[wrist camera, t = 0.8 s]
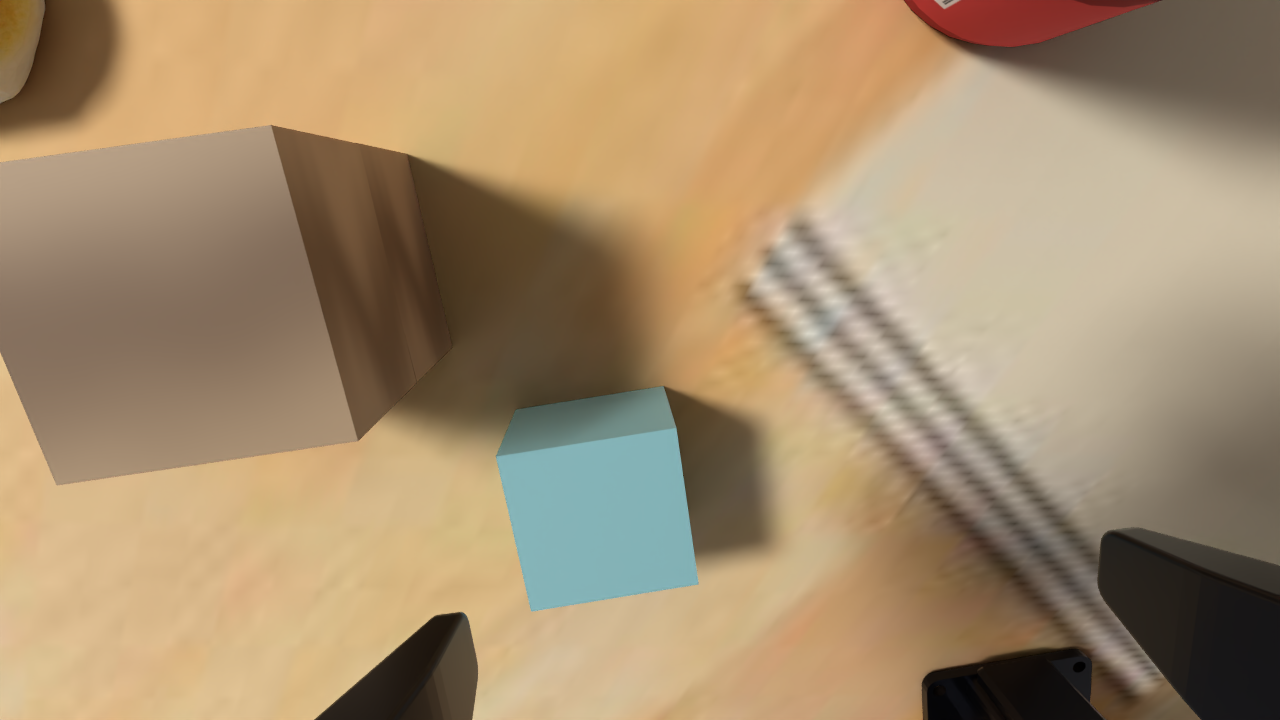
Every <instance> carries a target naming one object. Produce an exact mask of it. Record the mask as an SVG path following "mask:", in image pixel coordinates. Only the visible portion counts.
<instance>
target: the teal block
mask: <svg viewBox="0 0 1280 720" xmlns="http://www.w3.org/2000/svg"><path fill="white" fill-rule="evenodd" d="M496 459H497V464H498V468H499V472H500V477H501V481H502V485H503V490H504V494H505V499H506V503H507V507H508V512H509V516H510V521H511V525H512V529H513V534H514V538H515V542H516V547H517V551H518V556H519V560H520V564H521V569H522V573H523V578H524V582H525V586H526V591H527V595H528V599H529V604H530V608H531V611H538V610H544V609H550V608H556V607H562V606H568V605H574V604H581V603H587V602H593V601H599V600H605V599H611V598H617V597H623V596H630V595H636V594H642V593H648V592H654V591H660V590H666V589H673V588H679V587H685V586H691V585H697V584H698V577H697V570H696V562H695V555H694V548H693V541H692V534H691V527H690V520H689V513H688V506H687V499H686V492H685V485H684V478H683V471H682V464H681V457H680V450H679V443H678V436H677V429H676V425H675V422H674V418H673V415H672V412H671V409H670V405H669V402H668V399H667V395H666V392H665V389H664V386H660V387H654V388H648V389H641V390H635V391H629V392H622V393H616V394H610V395H604V396H597V397H591V398H585V399H578V400H572V401H566V402H559V403H553V404H547V405H541V406H534V407H528V408H522V409H516V410H515V412H514V415H513V417H512V420H511V422H510V424H509V427H508V429H507V432H506V434H505V436H504V439H503V441H502V443H501V446H500V448H499V451H498V453H497V455H496Z"/></svg>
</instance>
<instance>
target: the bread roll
mask: <svg viewBox="0 0 1280 720" xmlns="http://www.w3.org/2000/svg"><path fill="white" fill-rule="evenodd" d="M44 12H45V1H44V0H0V103H2V102H4V101H6V100H9V99H12V98H13V97H14V96H16V95H17V94H18V93H19V92H20V90H21V89H22V87H23V86H24V84H25V82H26V80H27V78H28V76H29V73H30V70H31V68H32V65H33V61H34V56H35V52H36V49H37V45H38V42H39V38H40V33H41V27H42V22H43V17H44Z"/></svg>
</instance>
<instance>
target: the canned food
mask: <svg viewBox="0 0 1280 720" xmlns="http://www.w3.org/2000/svg"><path fill="white" fill-rule="evenodd" d="M904 1H905V2H906V3H907V5H908V6H909V7H910V9H911V10H912V11H913V12H914V13H916V14H917V15H918V16H919V17H920V18H921V19H923V20H924V21H925V22H926V23H927V24H928V25H930V26H931V27H933V28H935V29H937V30H939V31H940V32H942V33H944V34H946V35H948V36H950V37H952V38H956V39H959V40H963V41H966V42H970V43H974V44H981V45H987V46H1006V47H1016V46H1022V45H1028V44H1034V43H1040V42H1043V41H1046V40H1049V39H1052V38H1054V37H1057V36H1060V35H1063V34H1066V33H1069V32H1072V31H1075V30H1078V29H1080V28H1083V27H1086V26H1089V25H1092V24H1095V23H1098V22H1101V21H1103V20H1106V19H1109V18H1112V17H1115V16H1118V15H1121V14H1124V13H1126V12H1129V11H1132V10H1135V9H1138V8H1141V7H1144V6H1147V5H1149V4H1152V3H1155V2H1158V1H1161V0H904Z"/></svg>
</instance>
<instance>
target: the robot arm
mask: <svg viewBox="0 0 1280 720" xmlns="http://www.w3.org/2000/svg"><path fill="white" fill-rule="evenodd" d="M1098 588H1099V591H1100V594H1101V596H1102V598H1103V599H1104V601H1105V602H1106V604H1107V605H1108V606H1109V607H1110V609H1111V610H1112V611H1113V612H1114V614H1115V615H1116V616H1117V617H1118V619H1119V620H1120V621H1121V622H1122V624H1123V625H1124V626H1125V628H1126V629H1127V630H1128V631H1129V633H1130V634H1131V635H1132V636H1133V638H1134V639H1135V640H1136V641H1137V643H1138V644H1139V645H1140V646H1141V648H1142V649H1143V650H1144V651H1145V653H1146V654H1147V655H1148V656H1149V658H1150V659H1151V660H1152V662H1153V663H1154V664H1155V665H1156V667H1157V668H1158V669H1159V670H1160V672H1161V673H1162V674H1163V675H1164V677H1165V678H1166V679H1167V680H1168V682H1169V683H1170V684H1171V685H1172V687H1173V688H1174V689H1175V690H1176V691H1177V693H1178V694H1179V695H1180V696H1181V697H1182V699H1183V700H1184V701H1185V702H1186V703H1187V704H1188V705H1189V707H1190V708H1191V709H1192V710H1193V711H1194V712H1195V713H1196V714H1197V716H1198V717H1199V718H1200V719H1201V720H1280V566H1279V565H1275V564H1272V563H1268V562H1264V561H1261V560H1257V559H1253V558H1250V557H1246V556H1242V555H1239V554H1235V553H1231V552H1228V551H1224V550H1220V549H1216V548H1213V547H1209V546H1205V545H1202V544H1198V543H1194V542H1191V541H1187V540H1183V539H1180V538H1176V537H1172V536H1168V535H1165V534H1161V533H1157V532H1154V531H1150V530H1146V529H1143V528H1136V527H1131V528H1124V529H1116V530H1110V531H1107V532H1106V533H1105V534H1104V535H1103V537H1102V538H1101V545H1100V556H1099V568H1098ZM1091 674H1092V663H1091V660H1090V659H1089V658H1088V657H1087V656H1086V655H1085V654H1084V653H1083V652H1082V651H1081V650H1078V649H1069V650H1063V651H1057V652H1051V653H1045V654H1040V655H1034V656H1028V657H1022V658H1016V659H1010V660H1004V661H998V662H992V663H987V664H981V665H975V666H969V667H963V668H957V669H951V670H945V671H939V672H934V673H931V674H929V675H927V676H926V677H925V678H924V679H923V681H922V706H923V720H1106V719H1105V718H1104V717H1103V716H1102V715H1101V714H1100V713H1099V712H1098V711H1097V710H1096V709H1095V708H1094V707H1093V706H1092V704H1091V703H1090V695H1091ZM477 681H478V664H477V658H476V653H475V648H474V644H473V639H472V634H471V629H470V625H469V621H468V618H467V616H466V615H465V614H464V613H462V612H457V613H449V614H441V615H436V616H434V617H433V618H431V619H430V620H429V621H428V622H427V623H426V624H424V625H423V626H422V627H421V628H420V629H419V630H417V631H416V632H415V633H414V634H413V635H412V636H410V637H409V638H408V639H407V640H406V641H405V642H404V643H402V644H401V645H400V646H399V647H398V648H397V649H395V650H394V651H393V652H392V653H391V654H390V655H389V656H387V657H386V658H385V659H384V660H383V661H382V662H380V663H379V664H378V665H377V666H376V667H375V668H373V669H372V670H371V671H370V672H369V673H368V674H367V675H365V676H364V677H363V678H362V679H361V680H360V681H358V682H357V683H356V684H355V685H354V686H353V687H352V688H350V689H349V690H348V691H347V692H346V693H345V694H343V695H342V696H341V697H340V698H339V699H338V700H337V701H335V702H334V703H333V704H332V705H331V706H330V707H328V708H327V709H326V710H325V711H324V712H323V713H321V714H320V715H319V716H318V717H317V718H316V719H315V720H472V717H473V710H474V703H475V696H476V688H477ZM936 686H938V687H937V688H935V687H936Z"/></svg>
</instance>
